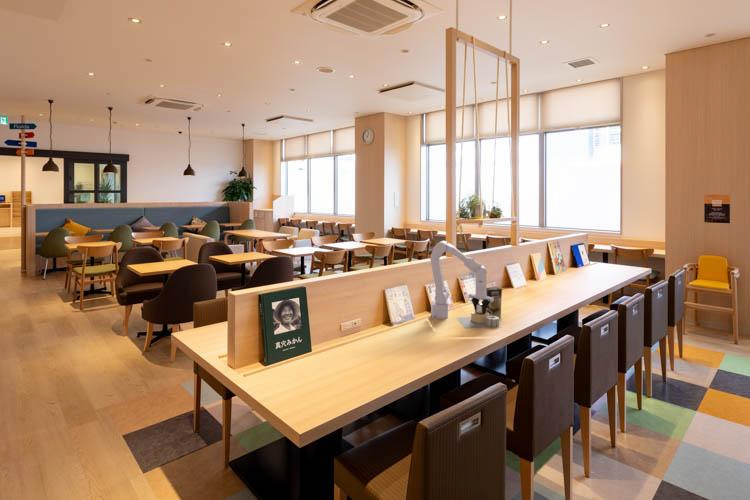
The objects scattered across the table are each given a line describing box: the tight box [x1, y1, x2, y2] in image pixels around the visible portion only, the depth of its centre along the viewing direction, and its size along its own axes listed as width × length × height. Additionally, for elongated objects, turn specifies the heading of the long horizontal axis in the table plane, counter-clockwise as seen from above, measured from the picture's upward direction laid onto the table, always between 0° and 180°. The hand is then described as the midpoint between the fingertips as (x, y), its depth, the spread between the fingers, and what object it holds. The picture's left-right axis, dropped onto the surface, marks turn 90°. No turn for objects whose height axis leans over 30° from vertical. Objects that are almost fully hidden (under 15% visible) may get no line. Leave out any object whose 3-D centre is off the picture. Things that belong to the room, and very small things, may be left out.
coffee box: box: [482, 286, 503, 318], centre depth 262 cm, size 9×6×16 cm
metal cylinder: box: [476, 302, 483, 314], centre depth 249 cm, size 4×4×7 cm
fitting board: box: [456, 310, 504, 329], centre depth 246 cm, size 20×20×5 cm
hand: (480, 312), depth 250 cm, fingers closed on metal cylinder, 4 cm apart
